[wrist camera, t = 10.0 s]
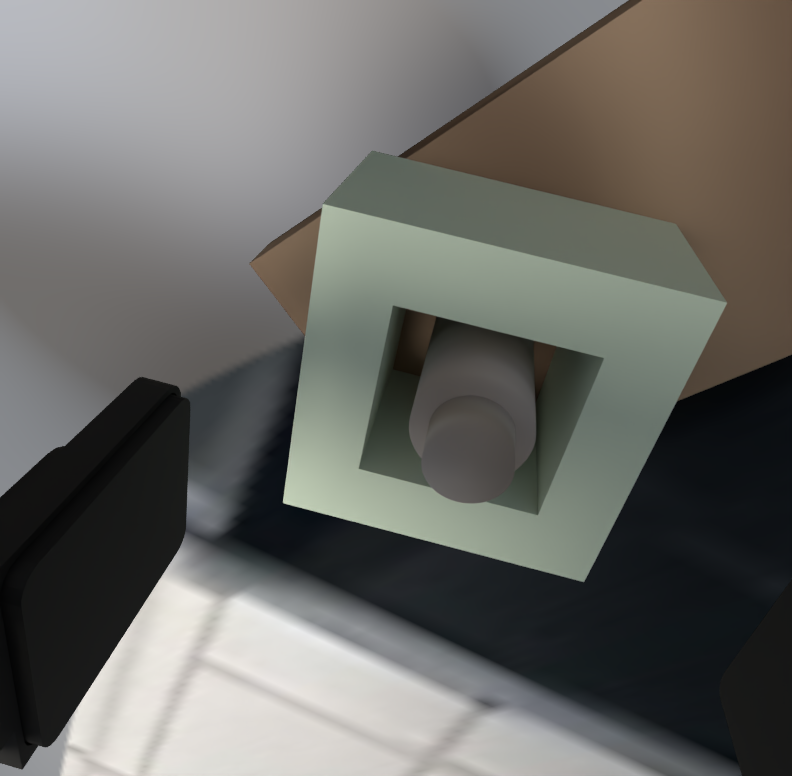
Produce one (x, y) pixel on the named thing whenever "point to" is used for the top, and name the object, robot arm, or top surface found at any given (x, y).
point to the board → (610, 187)
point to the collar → (504, 312)
